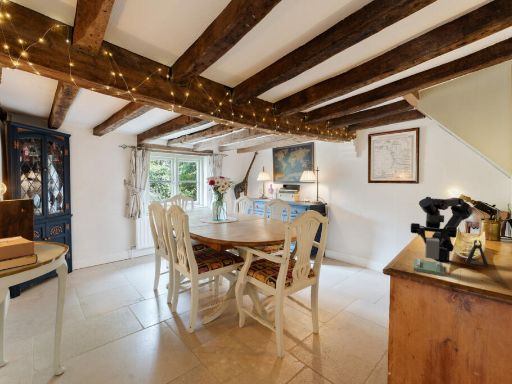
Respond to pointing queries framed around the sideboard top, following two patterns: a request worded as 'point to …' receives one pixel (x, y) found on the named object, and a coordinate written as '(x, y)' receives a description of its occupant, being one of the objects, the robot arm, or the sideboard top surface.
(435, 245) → the chute block
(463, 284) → the sideboard top surface
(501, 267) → the sideboard top surface
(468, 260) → the dark a-frame stand
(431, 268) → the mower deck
